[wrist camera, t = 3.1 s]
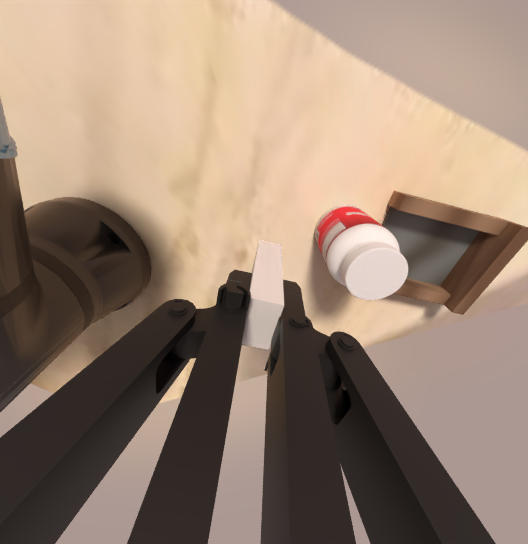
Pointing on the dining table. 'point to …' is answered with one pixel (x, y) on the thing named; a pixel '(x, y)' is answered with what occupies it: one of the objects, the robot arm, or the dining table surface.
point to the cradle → (450, 249)
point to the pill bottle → (360, 253)
